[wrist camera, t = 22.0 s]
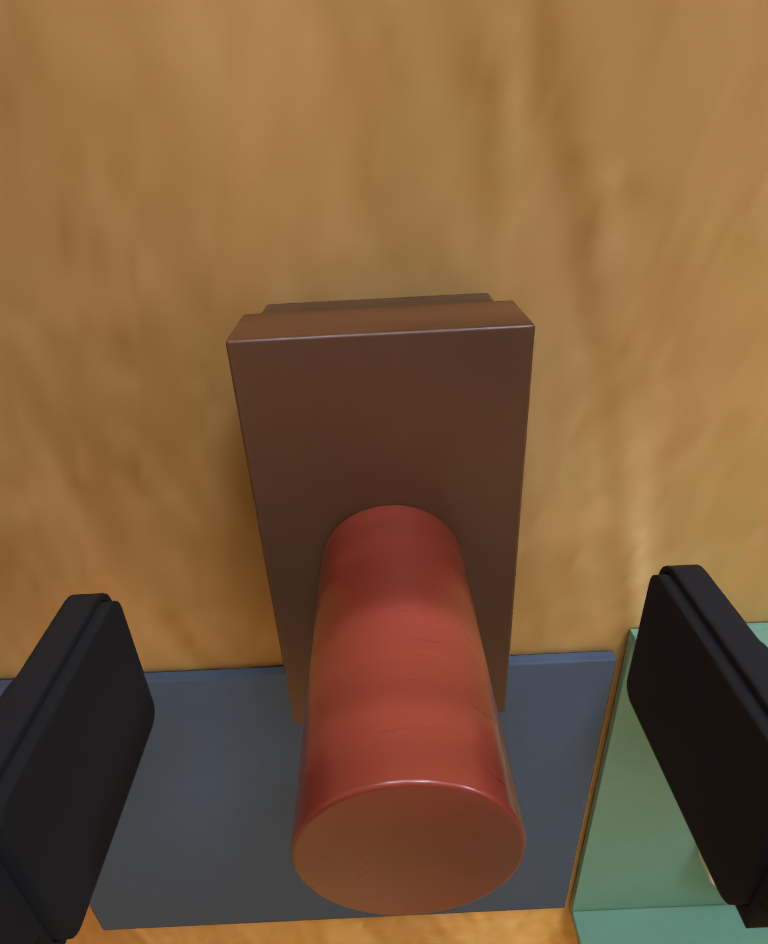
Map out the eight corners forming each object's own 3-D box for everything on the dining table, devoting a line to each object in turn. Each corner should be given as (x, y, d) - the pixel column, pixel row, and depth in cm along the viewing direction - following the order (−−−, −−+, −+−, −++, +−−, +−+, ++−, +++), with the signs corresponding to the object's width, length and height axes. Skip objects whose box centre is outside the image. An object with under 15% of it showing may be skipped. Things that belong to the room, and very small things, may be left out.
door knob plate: (255, 295, 13) (80, 549, 5) (498, 282, 13) (707, 516, 5) (305, 629, 18) (255, 1031, 10) (482, 619, 18) (577, 1014, 10)
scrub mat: (-20, 680, 19) (-27, 690, 19) (612, 650, 19) (617, 659, 19) (106, 920, 26) (102, 930, 26) (562, 897, 26) (564, 908, 26)
